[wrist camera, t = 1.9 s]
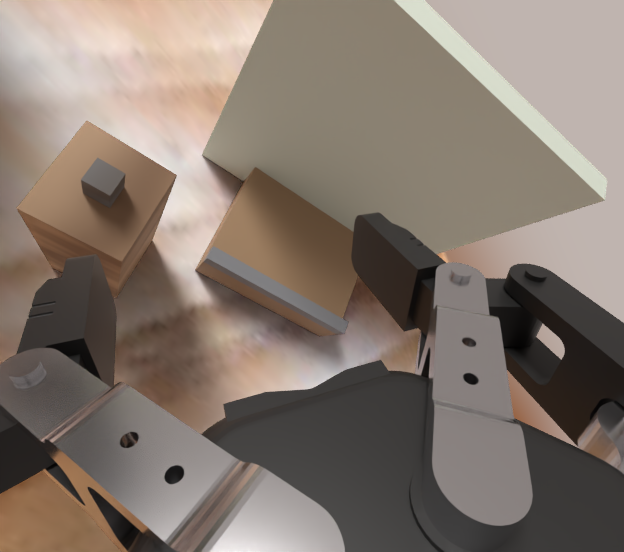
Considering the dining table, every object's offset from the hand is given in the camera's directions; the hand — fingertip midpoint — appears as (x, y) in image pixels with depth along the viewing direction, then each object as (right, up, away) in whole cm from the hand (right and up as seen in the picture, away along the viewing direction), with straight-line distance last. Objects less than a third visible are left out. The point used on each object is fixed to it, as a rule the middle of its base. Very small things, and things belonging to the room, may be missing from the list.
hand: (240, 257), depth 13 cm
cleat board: (0, +1, +22) cm, 22 cm away
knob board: (-12, +1, +15) cm, 20 cm away
